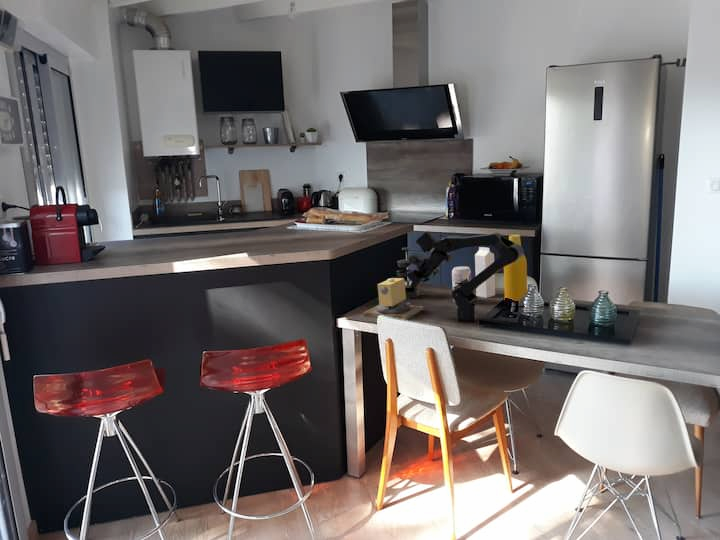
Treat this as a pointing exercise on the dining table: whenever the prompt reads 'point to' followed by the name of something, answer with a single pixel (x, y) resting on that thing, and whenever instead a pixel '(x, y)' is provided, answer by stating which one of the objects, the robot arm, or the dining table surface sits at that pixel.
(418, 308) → the level base
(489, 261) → the milk
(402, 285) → the yellow boxy piece
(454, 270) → the supplement can
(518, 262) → the yellow bottle
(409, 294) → the french press
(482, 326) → the dining table surface
